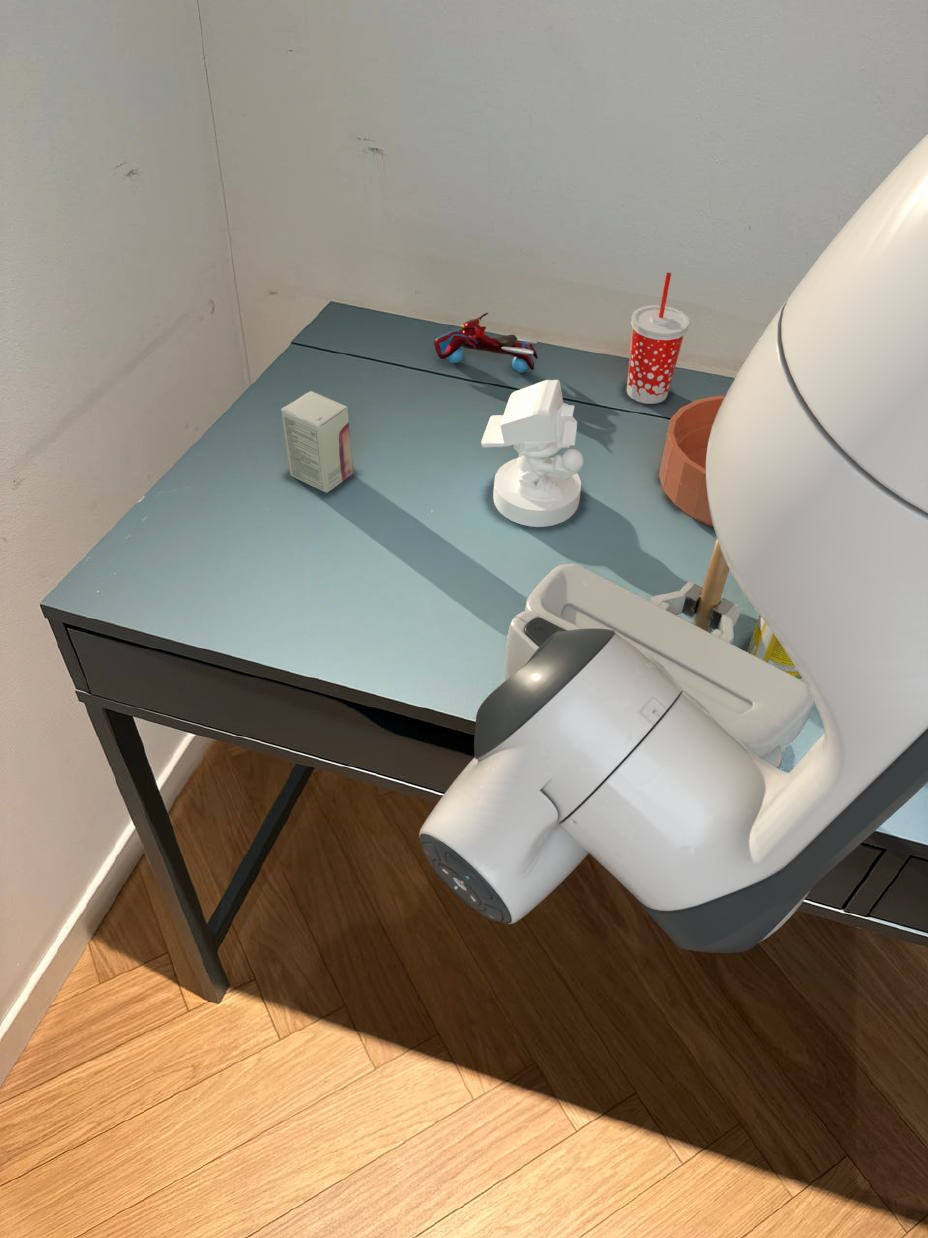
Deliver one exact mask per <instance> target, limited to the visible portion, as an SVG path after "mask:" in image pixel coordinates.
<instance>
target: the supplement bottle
mask: <svg viewBox="0 0 928 1238" xmlns="http://www.w3.org/2000/svg"><path fill="white" fill-rule="evenodd" d="M747 652H748V653H750V654H751V655H753V656H755V657H757V658H759V659H761V660H763V661H765V662H767V663H769V664H771V665H773V666H775V667H776V668H778V669H780V670H782V671H784V672H786V673H788V674H790V675H792V676H794V677H796V678H798V679H800V680H802V681H804V680H803V678H802V677H801V675H800V673H799V672H798V670H797V668H796V667H795V665H794V663H793V662H792V660H791V659H790V657H789V656H788V654H787V653H786V651H785V650H784V648H783V647H782V645H781V644H780V642H779V641H778V639H777V638H776V636H775V635H774V634H773V632H772V631H771V630H770V628H769V627H768V625H767V624H766V623H765V621H764V620H763V619H762V617H761V616H760V615H759V616H758V619H757V621H756V624H755V627H754V629H753V632H752V636H751V638H750V642H749V645H748V647H747Z"/></svg>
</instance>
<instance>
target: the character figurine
mask: <svg viewBox="0 0 928 1238" xmlns="http://www.w3.org/2000/svg"><path fill="white" fill-rule="evenodd" d="M574 411H575V404H568V403H566V402H564V399H563V392H562V387H561V382H560V380H559V379H545V380H542V381H540V382H537V383H534V384H531V385H529V386H525V387H524V388H523V387H522V388H521V389H518V390H514V391H513V392H512V393H511V394H510V396H509V398H508V401H507V403H506V407H505V409H504V413H503V414H495V415H491V416H490V417H489V420H488V422H487V425H486V427H485V430H484V433H483V436H482V437H481V441H480V442H481V443H480V444H481V448H502V447H513V449H514V451H516V452H517V453H518V455H517V456H518V457H517V458H516V457H515V458H513V459H511V460H509V461H506V462H504V464H502V466H501V467H499V468H498V470H497V471H496V473H495V475H494V481H493V493H492V494H493V495H492V496H493V503H494V506H495V508H496V509H497V511H498V512H499V514H501V515H502V516H503V517H505V518H506V519H507V520H509V521H511V522H513V523H516V524H519V525H523V526H527V527H534V528H545V527H551V526H552V527H553V526H555V525H558V524H562V523H563V522H566V521H567V520H569V519H570V518H571V517H573V516H574V514H575V513H576V512H577V511H578V508H579V505H580V500H581V499H580V498H581V491H582V480H581V478H580V476H579V474H578V473H579V472H580V471H581V469H582V467H583V465H584V456H583V454H582V452H581V451H580V450H578V449H575V448H570V447H571V446H575V444H576V437H577V429H578V421H577V420H576V418H575V417H574V416H573V415H574ZM561 449H567V450H565V451H564V453H563V454H562V455H561V454H556V453H558V452H559V451H560V450H561ZM555 454H556V455H555ZM551 456H553V457H551Z"/></svg>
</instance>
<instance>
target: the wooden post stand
mask: <svg viewBox="0 0 928 1238" xmlns="http://www.w3.org/2000/svg"><path fill="white" fill-rule="evenodd" d="M714 543H715V544H714V547H713V551H712V554H711V558H710V561H709V565H708V569H707V572H706V574H705V575H706V576H705V580H704V583H703V586H702V588H703V590H702V593H701V597H700V600H699V604H698V607H697V611H696V614H695V615H694V619H693V621H692V624H694V625H695V626H697V627H699V628H701V629H703V630H705V631H707V632H709V633H711V634H712V630H713V629H712V628H710V627H708V624H709V620H710V619H711V618H712V617H711V613H712V610H713V608H714V607H715V606H716V605H717V604H719V603H720V600H721V599H722V596H723V593H724V589H725V586H726V582H727V579H728V576H729V573H730V569H729V567H728V565H727V563H726V560H725V558H724V556H723V553H722V551H721V548H720V545H719V542H718V539H717V538H716V540H715V542H714Z"/></svg>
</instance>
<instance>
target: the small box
mask: <svg viewBox="0 0 928 1238" xmlns="http://www.w3.org/2000/svg"><path fill="white" fill-rule="evenodd" d="M280 410H281V418H282V424H283V429H284V430H283V432H284V438H285V446H286V452H287V460H288V467H289V474H290V476H291V477H292V478H295V479H297V480H299V481H301V482H302V483H305V484H306V485H309V486H311V487H313V488H314V489H317V490H319V491H321V492H322V493H325V494H328V493H329V492H330V491H332V490H333V489H335V488H336V487H337V486H339V485H340V484H341V483H343V482H344V481H345V480H346V479H347V478H349V477H350V476H352V475H353V474H354V464H353V453H352V452H353V451H352V443H351V430H350V420H349V408H348V406H346V405H344V404H342V403H340V402H337V401H336V400H333V399H331V398H328V397H327V396H325V395H322V394H319V393H317V392H315V391H312V390H310V391H308V392H306V393H304V394H303V395H301V396H300V397H298V398H296V399H295V400H293V401H292V402H290V403H288V404H287V405H285V406H283V407H281V408H280Z"/></svg>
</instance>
